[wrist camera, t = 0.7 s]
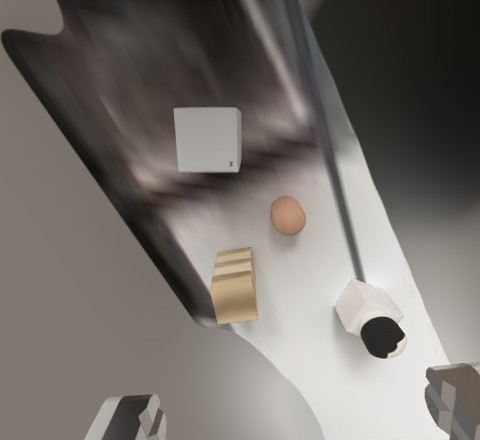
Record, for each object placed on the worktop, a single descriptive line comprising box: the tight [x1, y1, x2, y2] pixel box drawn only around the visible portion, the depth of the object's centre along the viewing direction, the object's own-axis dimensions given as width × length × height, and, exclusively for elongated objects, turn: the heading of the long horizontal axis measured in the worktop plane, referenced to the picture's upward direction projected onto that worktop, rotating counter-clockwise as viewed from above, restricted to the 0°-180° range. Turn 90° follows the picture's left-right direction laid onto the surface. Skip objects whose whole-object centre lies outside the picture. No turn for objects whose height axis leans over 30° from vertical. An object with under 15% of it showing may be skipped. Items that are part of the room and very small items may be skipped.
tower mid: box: [213, 258, 257, 300], centre depth 45 cm, size 6×6×4 cm
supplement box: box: [174, 107, 242, 173], centre depth 36 cm, size 7×7×13 cm
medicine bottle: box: [334, 279, 407, 359], centre depth 47 cm, size 7×7×12 cm
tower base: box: [216, 247, 256, 285], centre depth 48 cm, size 6×6×4 cm
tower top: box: [210, 270, 258, 324], centre depth 41 cm, size 6×6×4 cm
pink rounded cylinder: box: [271, 197, 306, 235], centre depth 44 cm, size 5×5×5 cm
